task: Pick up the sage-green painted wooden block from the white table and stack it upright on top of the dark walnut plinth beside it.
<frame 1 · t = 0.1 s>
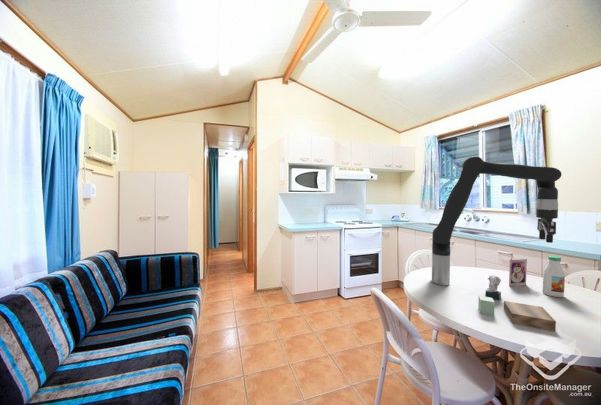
hand: (545, 240, 120), 29 cm above the table, tool pointing down, fingers open, 8 cm apart
watch: (493, 297, 124), on the table
block: (486, 311, 109), on the table
milk bottle: (552, 295, 126), on the table
plinth: (527, 319, 102), on the table
greeting card: (512, 283, 141), on the table
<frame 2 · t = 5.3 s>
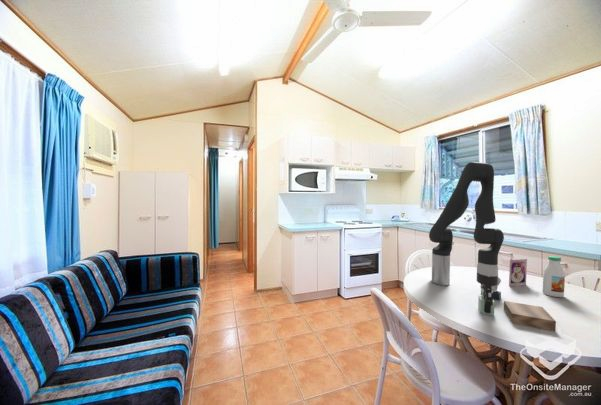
hand: (486, 309, 109), 1 cm above the table, tool pointing down, fingers closed on block, 5 cm apart
block: (486, 311, 109), on the table, touching gripper
everything else where it was.
when the fingers open (6 cm above the table, at t = 10.3 s): block drops 1 cm, resting on plinth.
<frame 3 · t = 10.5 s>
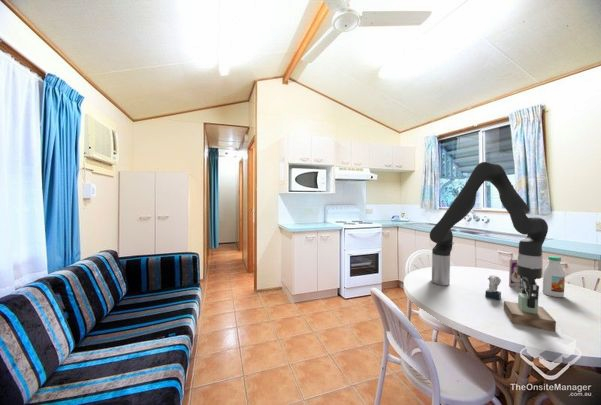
hand: (527, 303, 102), 7 cm above the table, tool pointing down, fingers open, 6 cm apart
block: (527, 310, 102), point 4 cm above the table, touching plinth
everything else where it was.
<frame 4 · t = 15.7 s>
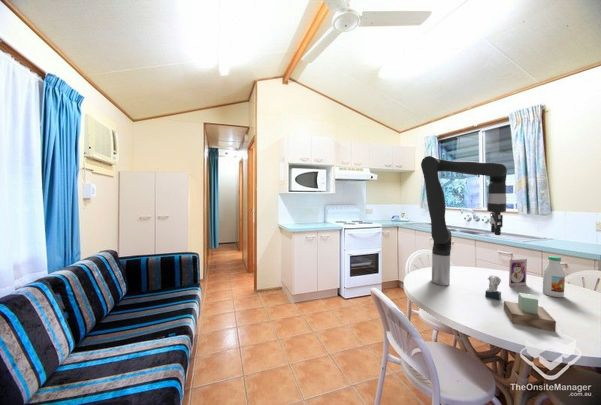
hand: (495, 233, 125), 32 cm above the table, tool pointing down, fingers open, 8 cm apart
nothing on the table moved.
at the end: block inside the target area on the plinth (0.1 cm from its centre), point 4.0 cm above the plinth's base; block tilted 0°; the gripper is holding nothing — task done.
